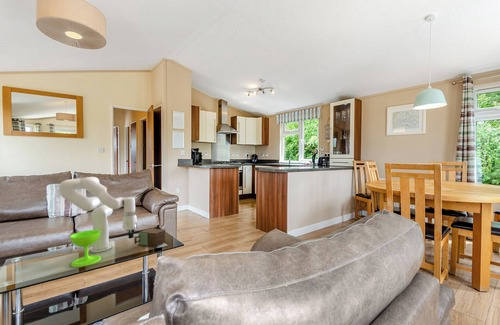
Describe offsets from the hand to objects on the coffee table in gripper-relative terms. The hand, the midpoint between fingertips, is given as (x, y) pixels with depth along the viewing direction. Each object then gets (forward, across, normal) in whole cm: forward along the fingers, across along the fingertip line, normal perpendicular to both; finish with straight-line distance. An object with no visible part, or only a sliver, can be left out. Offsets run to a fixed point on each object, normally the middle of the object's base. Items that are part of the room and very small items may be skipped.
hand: (131, 237), depth 170 cm
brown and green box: (+7, +11, +10) cm, 16 cm away
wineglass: (+7, -8, -28) cm, 30 cm away
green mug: (+6, +7, +2) cm, 10 cm away
